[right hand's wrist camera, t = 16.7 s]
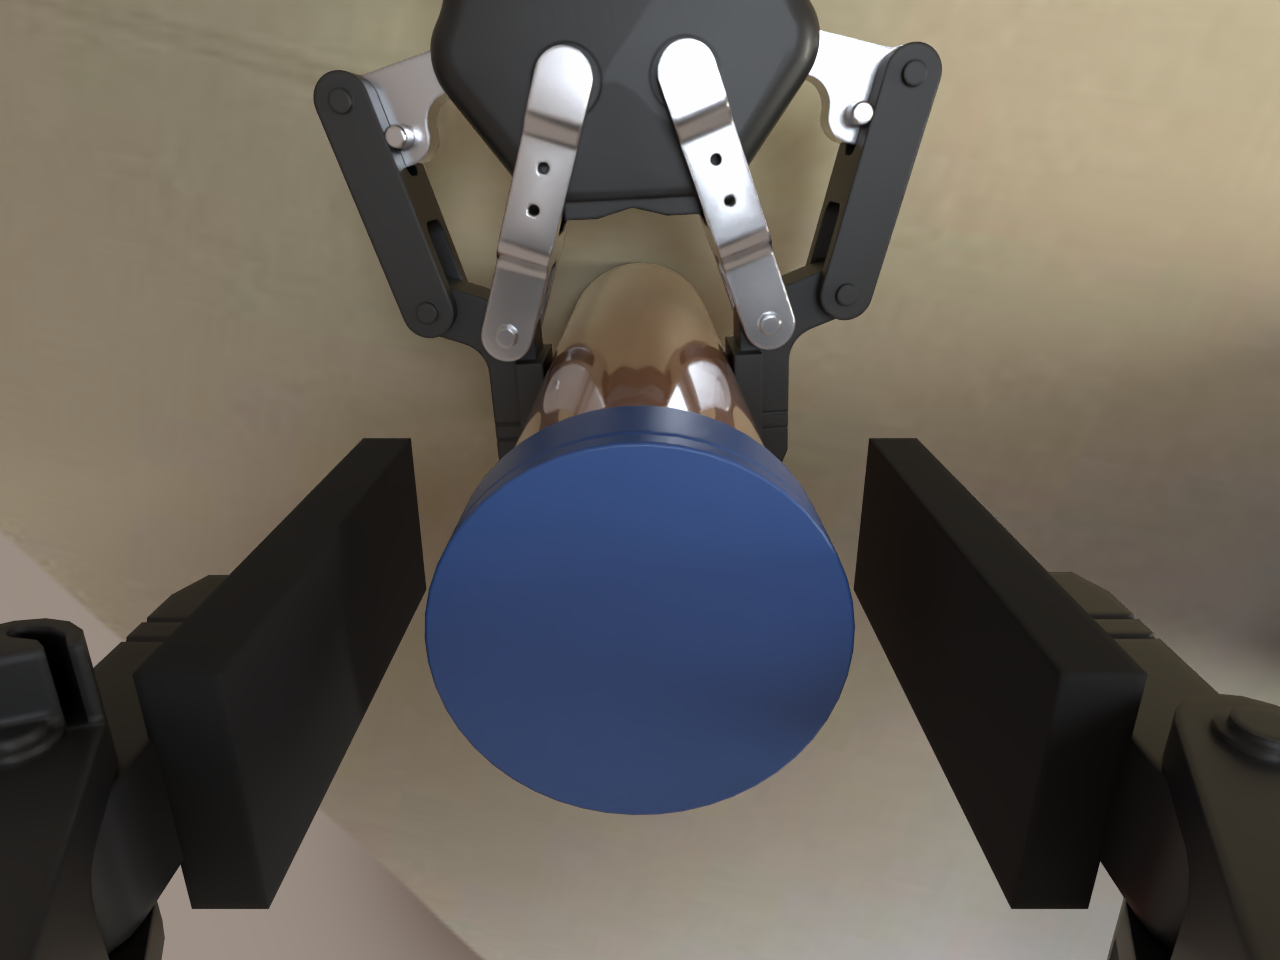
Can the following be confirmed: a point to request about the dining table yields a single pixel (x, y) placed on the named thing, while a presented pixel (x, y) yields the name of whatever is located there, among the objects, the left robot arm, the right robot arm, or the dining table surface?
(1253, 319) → the dining table surface
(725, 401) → the jar
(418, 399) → the dining table surface
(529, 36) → the left robot arm
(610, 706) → the lid
